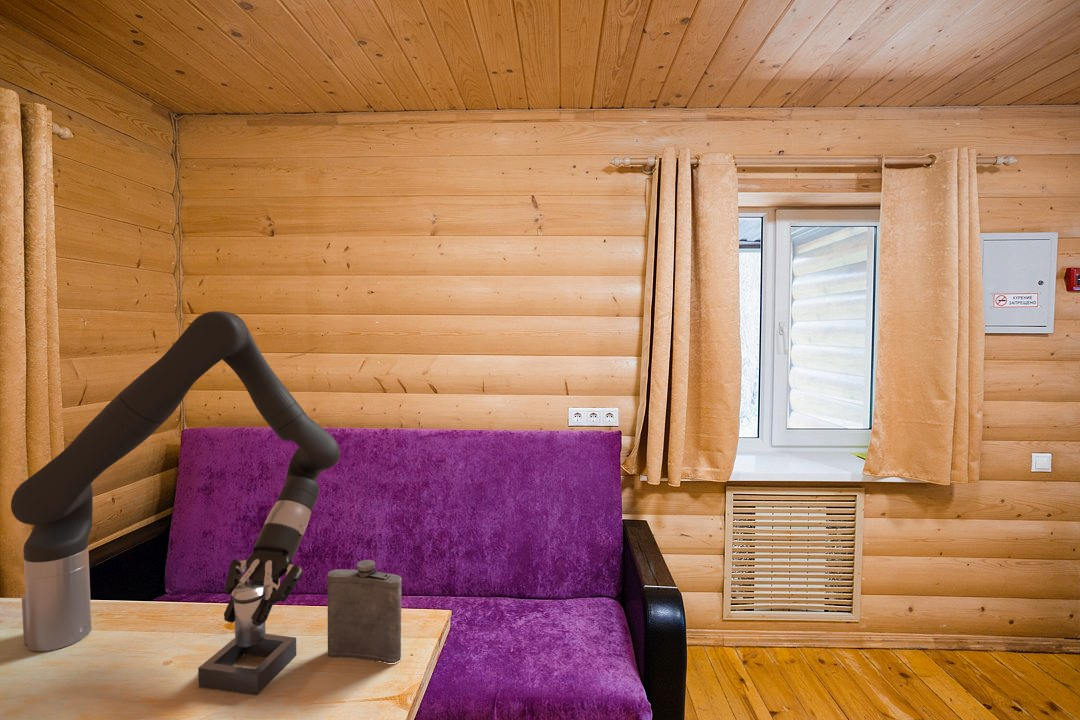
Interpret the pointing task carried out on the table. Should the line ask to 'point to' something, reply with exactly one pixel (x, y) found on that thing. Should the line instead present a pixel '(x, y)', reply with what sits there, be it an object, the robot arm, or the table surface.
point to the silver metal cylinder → (248, 613)
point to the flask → (364, 614)
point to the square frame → (247, 680)
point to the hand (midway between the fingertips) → (242, 622)
